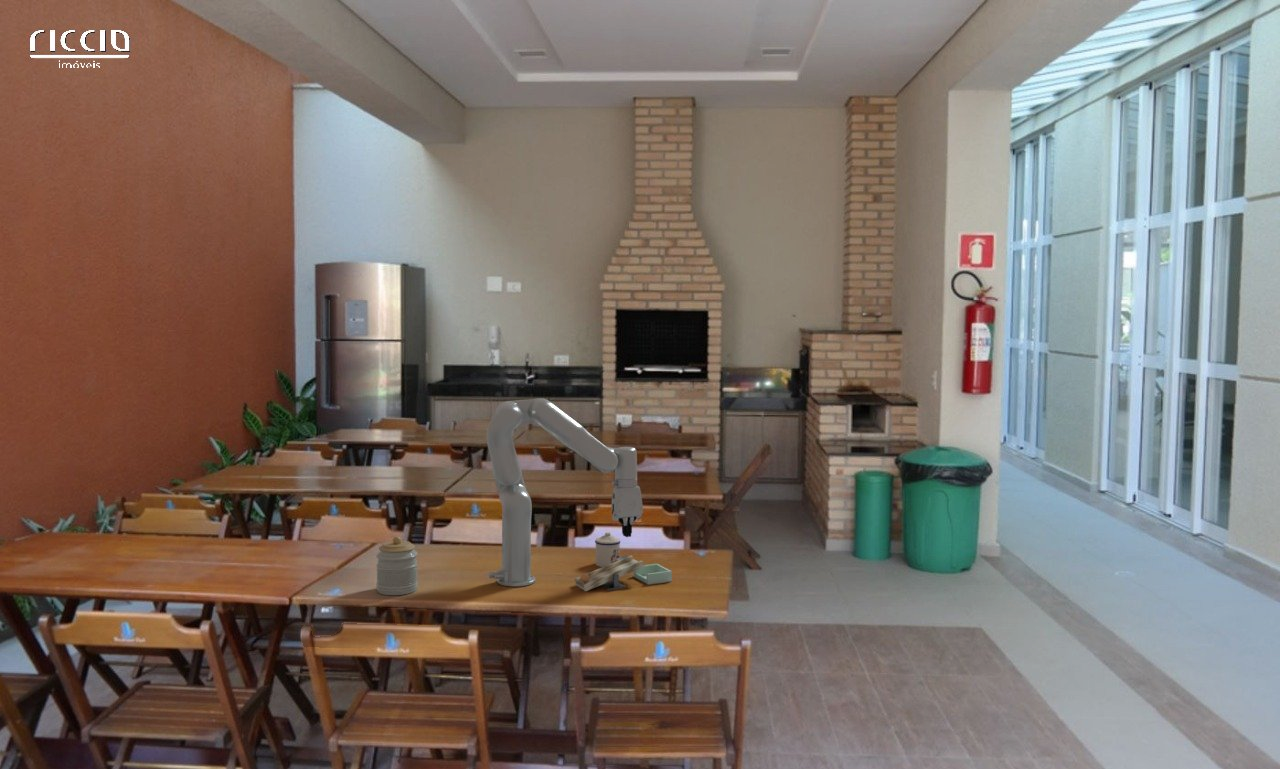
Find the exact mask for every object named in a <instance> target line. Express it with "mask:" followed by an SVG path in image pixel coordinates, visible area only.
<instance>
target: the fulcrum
mask: <svg viewBox="0 0 1280 769" xmlns="http://www.w3.org/2000/svg"><path fill="white" fill-rule="evenodd" d="M600 568H602V567H600ZM619 581H620V577H619V575H618V574H615V575H613V580H612V581H610V582H607V583H605V584H602V585H600V586H601V587H603V588H604V589H606V590H607V591H615V590H623V589H624V590H625V589H626V588H627V587H626V586H625V585H624V584H622V583H620V582H619Z"/></svg>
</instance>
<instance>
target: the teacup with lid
mask: <svg viewBox="0 0 1280 769" xmlns="http://www.w3.org/2000/svg"><path fill="white" fill-rule="evenodd" d="M594 543H595V565H596V566H597V567H599V568H601V567H605V566H607V565H610V564H612V563H614V562H617V561H616V559H618V558H620V557H621V555H620V552H621V549H620V548H621V547H620V545H621V539H620V538H618V537H615V536H614V535H612V534H611V532H605V533H604V534H603V535H601V536H600V537H597V538H596V539H595V541H594Z"/></svg>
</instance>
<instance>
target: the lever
mask: <svg viewBox="0 0 1280 769" xmlns="http://www.w3.org/2000/svg"><path fill="white" fill-rule="evenodd" d="M616 561H617V562H614V563H612V564H610V565H607V566H605V567H602V568H601V567H599V568H597V569H595V570H593V571H591V572H587V574H588V575H589V577H590V580H589V582H588V583H584V582H582V581H581V580H580V576H579V577H575V578H574V583H575V586H577V587H578V588H579V589H581V590H583V591H584V592H588V591H590V590H593V589H595V588H598V587H599V586H601V585H602V584H605V583H607V582H610V581H612V580H613V575H615V574H618V575H619V578H622V577H623V576H626V575H628V574H630V573H633V571H636V570H638V569H640V568H643V567H644V565H645V564H644V561H643V560H639V561H638V560H636V559H635V558H634V556H633V554H632V555H624V556H620V558H618V559H616Z"/></svg>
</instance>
